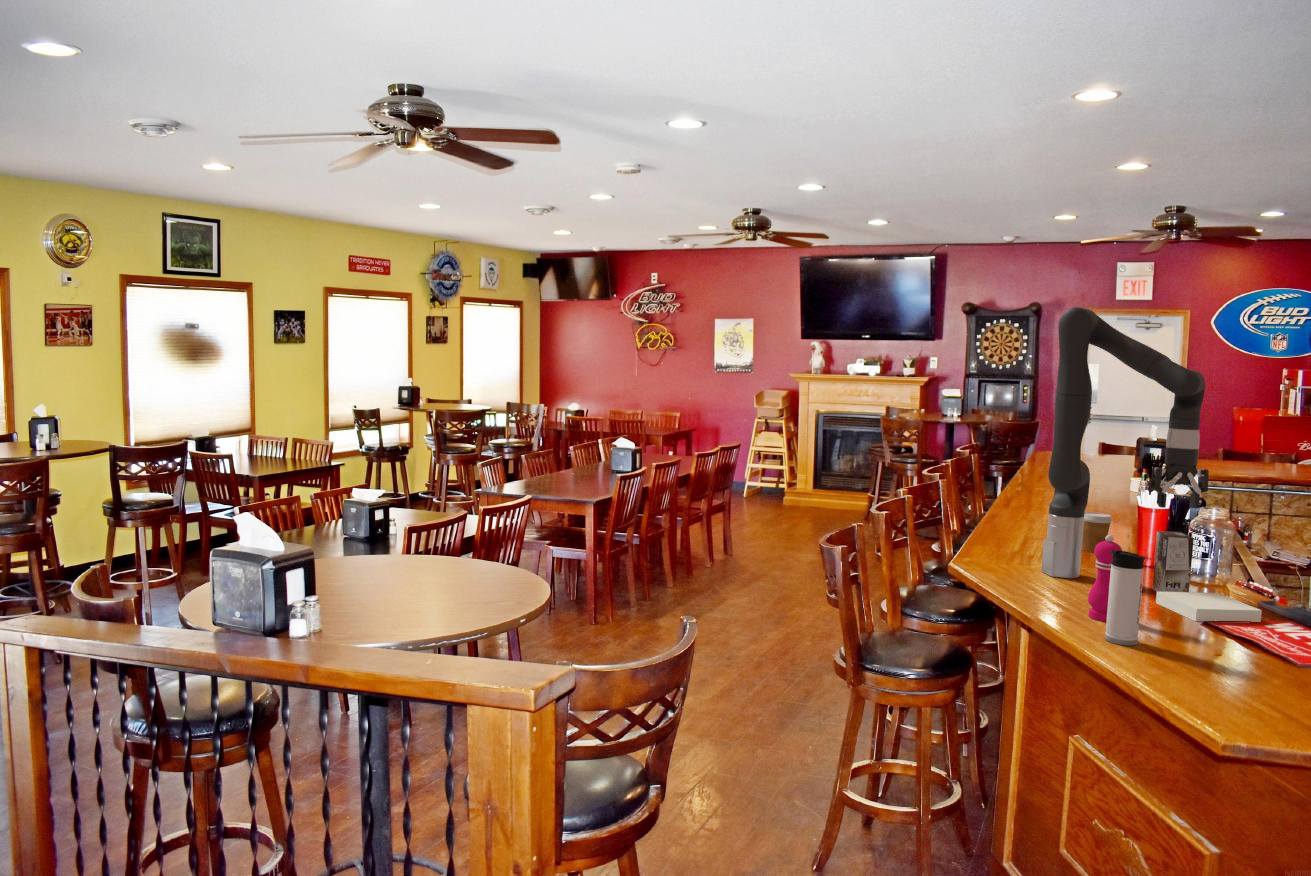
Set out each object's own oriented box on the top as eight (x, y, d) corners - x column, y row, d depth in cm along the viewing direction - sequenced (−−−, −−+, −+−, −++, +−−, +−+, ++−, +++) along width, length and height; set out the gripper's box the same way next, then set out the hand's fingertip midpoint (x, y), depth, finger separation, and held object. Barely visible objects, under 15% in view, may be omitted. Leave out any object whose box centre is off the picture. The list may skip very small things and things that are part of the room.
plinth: (1195, 621, 219) (1196, 608, 219) (1155, 602, 235) (1156, 591, 235) (1260, 622, 220) (1261, 610, 219) (1216, 604, 236) (1217, 592, 235)
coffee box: (1189, 599, 240) (1195, 538, 239) (1162, 597, 241) (1167, 536, 240) (1177, 590, 249) (1182, 531, 248) (1151, 588, 250) (1156, 529, 249)
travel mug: (1097, 636, 203) (1105, 547, 201) (1126, 637, 204) (1133, 547, 202) (1114, 645, 197) (1121, 553, 195) (1143, 646, 198) (1151, 554, 196)
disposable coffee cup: (1111, 550, 301) (1114, 514, 300) (1107, 555, 293) (1110, 518, 292) (1079, 546, 306) (1082, 510, 305) (1075, 551, 298) (1077, 514, 297)
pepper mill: (1118, 624, 214) (1125, 539, 212) (1084, 618, 218) (1090, 535, 216) (1121, 617, 220) (1128, 534, 218) (1088, 612, 224) (1094, 530, 222)
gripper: (1199, 445, 246) (1194, 505, 247) (1147, 444, 245) (1142, 504, 247) (1218, 448, 238) (1212, 510, 240) (1164, 446, 238) (1159, 509, 239)
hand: (1177, 507), depth 243 cm, fingers open, 8 cm apart
